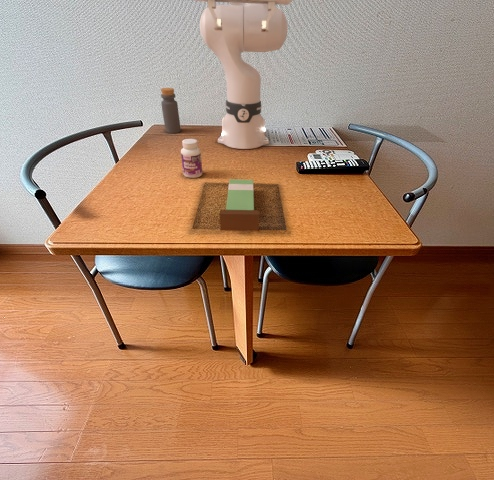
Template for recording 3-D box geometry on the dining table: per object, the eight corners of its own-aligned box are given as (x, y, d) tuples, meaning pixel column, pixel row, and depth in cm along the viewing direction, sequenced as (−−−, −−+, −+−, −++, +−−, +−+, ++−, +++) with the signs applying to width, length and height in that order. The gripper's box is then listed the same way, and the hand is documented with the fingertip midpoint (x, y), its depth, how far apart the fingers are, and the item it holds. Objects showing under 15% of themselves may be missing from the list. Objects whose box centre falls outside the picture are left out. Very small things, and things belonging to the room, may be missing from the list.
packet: (226, 219, 63) (229, 187, 74) (253, 219, 63) (253, 188, 74) (225, 209, 61) (229, 178, 72) (254, 209, 62) (253, 179, 72)
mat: (204, 184, 78) (203, 168, 75) (278, 185, 78) (279, 169, 75) (191, 232, 60) (189, 213, 57) (286, 233, 61) (289, 214, 58)
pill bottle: (184, 179, 79) (179, 144, 74) (182, 171, 84) (178, 138, 78) (203, 177, 81) (200, 143, 75) (201, 170, 85) (198, 137, 79)
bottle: (181, 132, 112) (175, 90, 103) (165, 133, 111) (159, 90, 101) (180, 128, 116) (175, 87, 107) (165, 129, 115) (158, 87, 106)
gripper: (297, -56, 54) (290, 34, 61) (188, -61, 53) (194, 30, 61) (302, -69, 49) (294, 31, 56) (181, -75, 48) (189, 27, 55)
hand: (241, 31), depth 58 cm, fingers open, 8 cm apart
